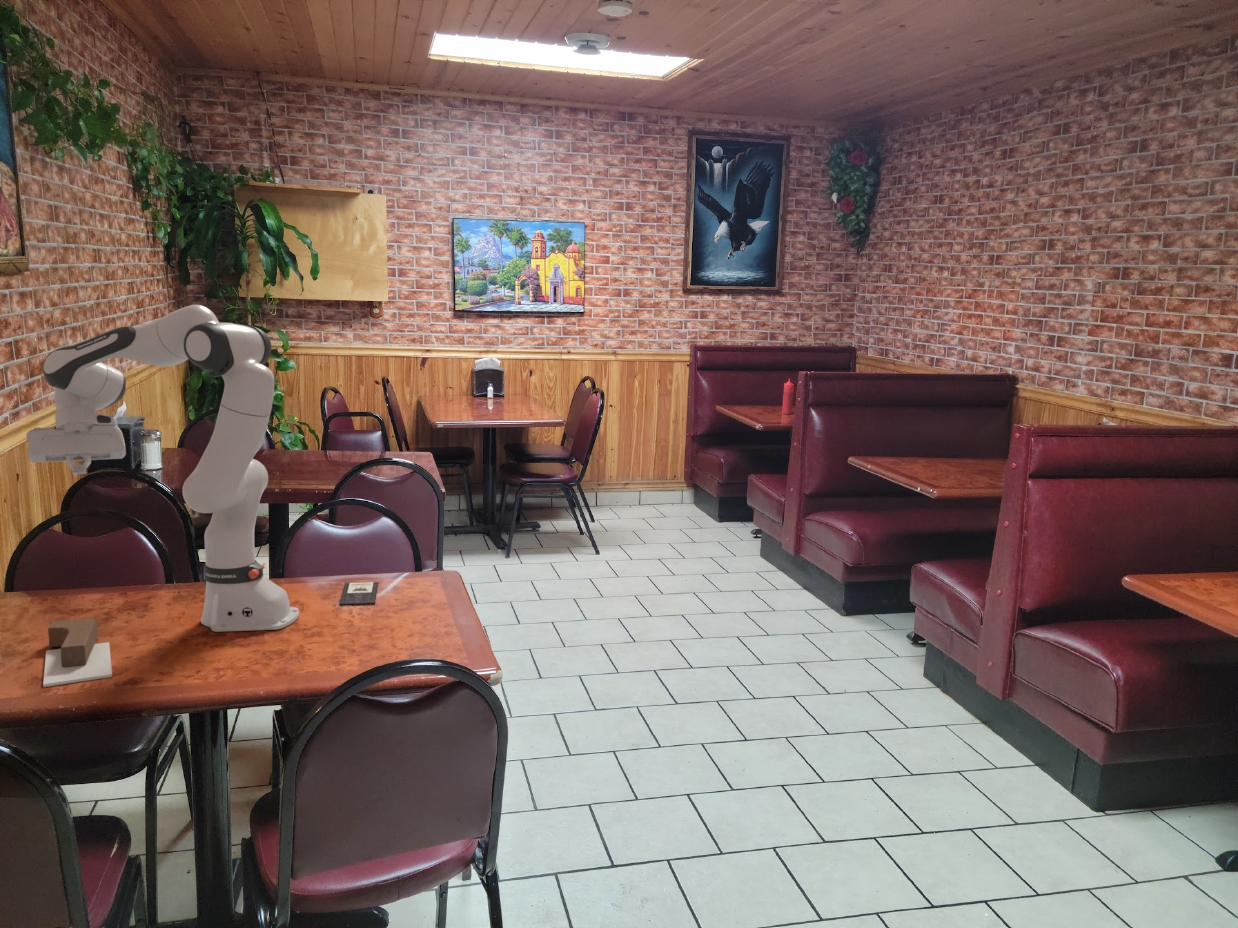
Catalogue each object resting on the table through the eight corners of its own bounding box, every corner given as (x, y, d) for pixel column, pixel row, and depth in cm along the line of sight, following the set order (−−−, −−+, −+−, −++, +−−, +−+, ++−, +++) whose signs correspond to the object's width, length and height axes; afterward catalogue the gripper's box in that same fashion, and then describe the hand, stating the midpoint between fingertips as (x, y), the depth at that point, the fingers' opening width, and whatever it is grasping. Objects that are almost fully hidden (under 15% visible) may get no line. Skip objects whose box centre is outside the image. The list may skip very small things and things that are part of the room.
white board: (46, 653, 199) (46, 650, 199) (109, 644, 205) (109, 641, 205) (43, 687, 182) (43, 684, 182) (112, 676, 188) (111, 673, 188)
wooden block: (53, 640, 205) (36, 670, 188) (51, 621, 204) (34, 649, 188) (98, 636, 208) (86, 665, 192) (97, 617, 207) (84, 645, 191)
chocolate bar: (338, 604, 236) (344, 583, 253) (338, 607, 236) (344, 586, 253) (374, 602, 238) (378, 582, 255) (374, 606, 238) (378, 585, 255)
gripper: (25, 420, 216) (26, 467, 210) (123, 417, 226) (127, 462, 220) (27, 436, 221) (28, 483, 214) (123, 432, 231) (127, 477, 224)
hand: (79, 472), depth 217 cm, fingers closed
